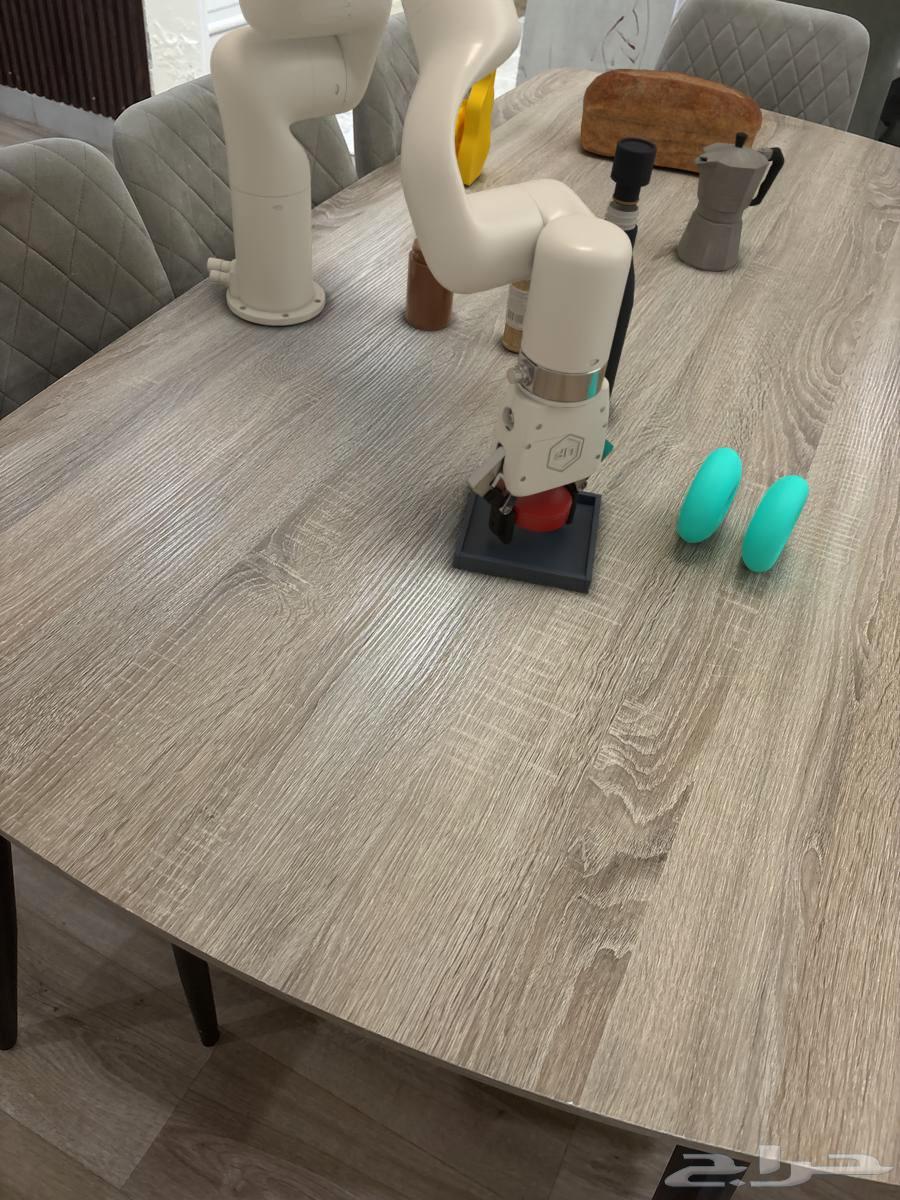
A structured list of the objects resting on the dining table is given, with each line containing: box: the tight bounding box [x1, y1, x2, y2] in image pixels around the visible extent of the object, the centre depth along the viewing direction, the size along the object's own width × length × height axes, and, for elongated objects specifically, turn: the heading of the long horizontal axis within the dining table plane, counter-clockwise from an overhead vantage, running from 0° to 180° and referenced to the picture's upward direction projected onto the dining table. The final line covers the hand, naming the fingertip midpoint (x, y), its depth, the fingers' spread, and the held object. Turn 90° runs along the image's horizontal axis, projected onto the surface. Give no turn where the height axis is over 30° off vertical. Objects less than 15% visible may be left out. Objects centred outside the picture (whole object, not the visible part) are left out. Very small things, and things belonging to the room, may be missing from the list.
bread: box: [579, 68, 763, 174], centre depth 164 cm, size 12×31×14 cm, turn 75°
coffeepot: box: [676, 132, 786, 272], centre depth 136 cm, size 15×9×18 cm, turn 113°
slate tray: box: [452, 477, 603, 594], centre depth 94 cm, size 13×13×2 cm
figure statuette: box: [455, 68, 498, 186], centre depth 147 cm, size 18×8×22 cm, turn 159°
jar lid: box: [505, 486, 572, 532], centre depth 91 cm, size 6×6×2 cm
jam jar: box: [404, 237, 455, 331], centre depth 119 cm, size 6×6×10 cm
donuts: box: [676, 446, 810, 573], centre depth 92 cm, size 10×10×10 cm
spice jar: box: [501, 280, 531, 354], centre depth 115 cm, size 5×5×13 cm
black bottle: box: [604, 138, 657, 403], centre depth 100 cm, size 6×6×30 cm
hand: (530, 524), depth 93 cm, fingers closed on jar lid, 6 cm apart
